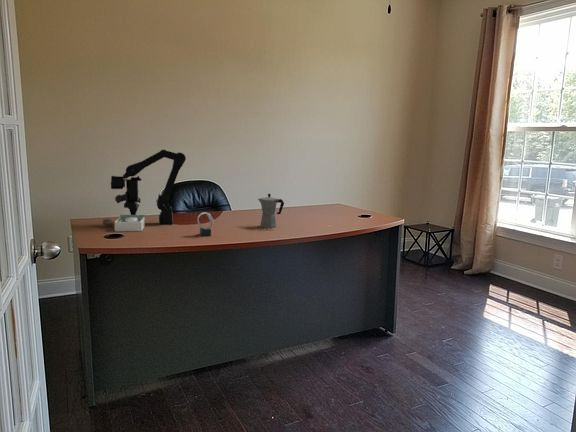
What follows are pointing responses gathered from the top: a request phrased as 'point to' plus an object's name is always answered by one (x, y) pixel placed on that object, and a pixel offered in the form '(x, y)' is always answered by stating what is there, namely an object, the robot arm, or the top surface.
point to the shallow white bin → (129, 225)
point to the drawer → (131, 216)
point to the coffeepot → (269, 211)
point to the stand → (106, 222)
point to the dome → (131, 219)
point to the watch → (207, 230)
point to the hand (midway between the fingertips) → (133, 218)
